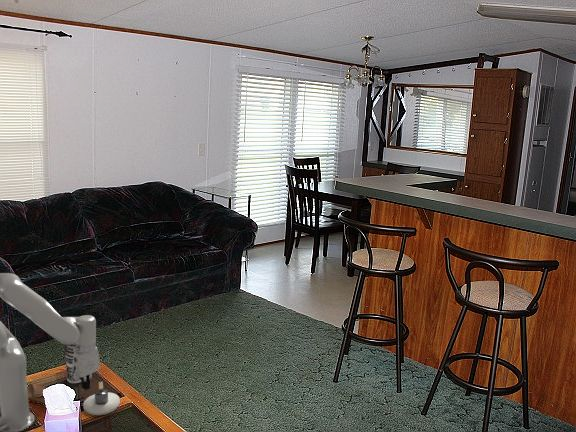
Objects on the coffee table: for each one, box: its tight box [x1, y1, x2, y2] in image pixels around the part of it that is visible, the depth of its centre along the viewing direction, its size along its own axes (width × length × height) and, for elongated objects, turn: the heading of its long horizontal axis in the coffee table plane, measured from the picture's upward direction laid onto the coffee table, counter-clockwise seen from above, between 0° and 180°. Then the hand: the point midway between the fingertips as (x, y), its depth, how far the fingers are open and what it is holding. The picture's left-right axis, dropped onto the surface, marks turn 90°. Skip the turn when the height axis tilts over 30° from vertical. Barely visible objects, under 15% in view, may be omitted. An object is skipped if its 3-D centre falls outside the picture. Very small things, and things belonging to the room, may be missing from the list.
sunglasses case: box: [27, 383, 48, 405], centre depth 226 cm, size 18×7×7 cm, turn 73°
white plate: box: [83, 391, 121, 416], centre depth 222 cm, size 14×14×2 cm
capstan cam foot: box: [94, 381, 109, 405], centre depth 224 cm, size 10×5×5 cm, turn 20°
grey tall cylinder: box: [63, 342, 81, 384], centre depth 238 cm, size 9×9×25 cm
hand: (85, 388), depth 222 cm, fingers closed
